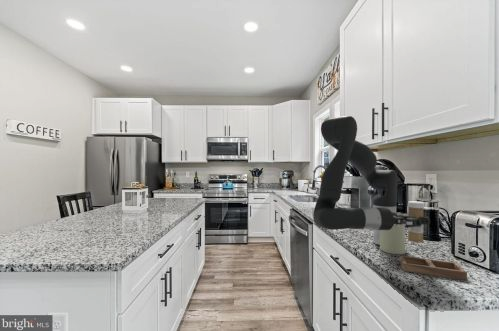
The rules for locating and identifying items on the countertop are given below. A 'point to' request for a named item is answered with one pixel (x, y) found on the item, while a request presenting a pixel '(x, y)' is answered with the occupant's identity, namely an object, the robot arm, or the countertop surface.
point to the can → (393, 240)
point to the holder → (433, 267)
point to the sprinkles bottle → (416, 211)
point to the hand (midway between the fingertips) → (423, 219)
